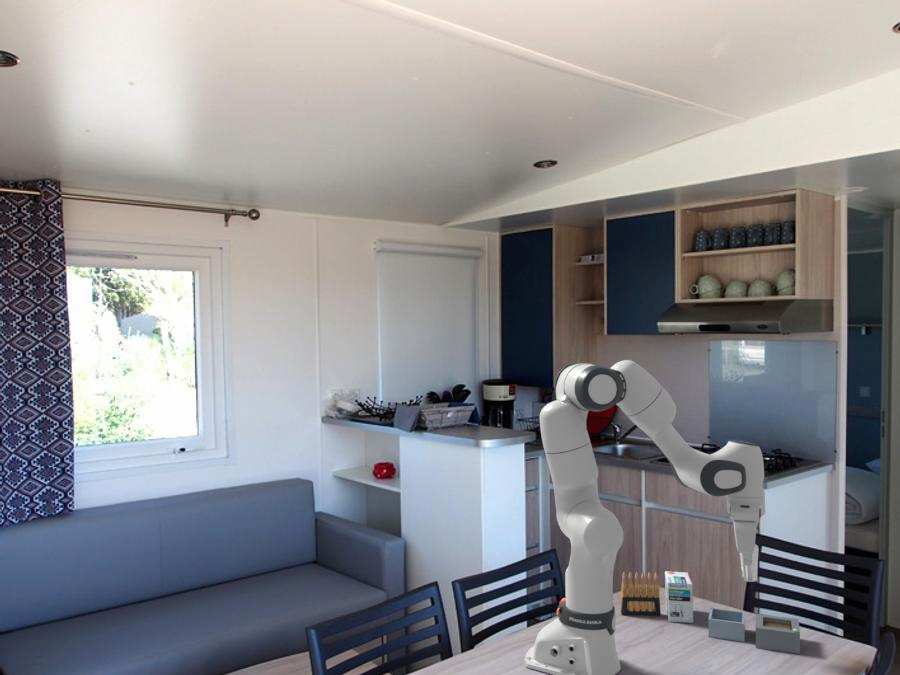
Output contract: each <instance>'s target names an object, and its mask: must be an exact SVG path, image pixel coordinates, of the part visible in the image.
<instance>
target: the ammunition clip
mask: <svg viewBox="0 0 900 675" xmlns="http://www.w3.org/2000/svg"><path fill="white" fill-rule="evenodd" d="M644 572H645V571H642V573H641V575H640V576H639V573H638V571H636V572H635V575H634V580H633V574H632V572H631V571H629V573H628V578H627V575H626V571H623V573H622V576H621V579H622V580H621V590H620V591H621V598H620V600H621V601H620V605H621V606H620V613H621V615H622V616H634V617H635V616H637V617H638V616H641V617H642V616H643V617H644V616H645V617H646V616H647V617H661V615H662V614H661V601H660V599H661V598H660V585H659V575H658V572H656V571H655V573H654V575H653V576H654V577H652V573H651V572H650V571H649V572H648V574H647V583H646V574H645V573H644ZM627 579H628V581H627ZM627 583H628V584H627Z"/></svg>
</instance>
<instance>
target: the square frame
mask: <svg viewBox="0 0 900 675" xmlns="http://www.w3.org/2000/svg"><path fill="white" fill-rule="evenodd" d="M764 622H768V623H775V624H783V625H790V630H788V629H780V628H773V627H765V626H764ZM755 649H762V650H769V651H775V652H776V651H777V652H783V653H788V654H797V655H801V631H800V621H799V618H795V617H794V618H793V617H786V616H777V615H771V614H769V615H768V614H761V613H756V614H755Z"/></svg>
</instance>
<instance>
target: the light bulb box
mask: <svg viewBox="0 0 900 675" xmlns="http://www.w3.org/2000/svg"><path fill="white" fill-rule="evenodd" d="M664 583H665V584H664V585H665V587H664V588H665V591H664V592H665V594H664V596H665V610H666V615H667V620H668V622H672V623H687V624H689V623H690V624H694V593H693V586H694V585H693V582H692V580H691V577H690V575H689V572H685V571H684V572H683V571H682V572H681V571H668V570H667V571H666V570H665V571H664Z"/></svg>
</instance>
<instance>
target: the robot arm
mask: <svg viewBox="0 0 900 675" xmlns="http://www.w3.org/2000/svg"><path fill="white" fill-rule="evenodd" d="M553 387H554V389H553V391H552V396H551V399H552V401H551V402H548V403H547V404H546V405H545V406H543V407H542V408H541V411H540V413H539V425H540V426H539V427H540V428H539V429H540V434H541V435H540V436H541V441H542V446H543V447H542V448H543V449H544V450H543V451H544V453H545V454H544V455H545V458H546V461H547V465H548V469H549V474H550V477H551V481H552V488H553V493H554V494H553V495H554V503H555V510H556V512H555V514H556V521H557V524H558V525H559V526H558V527H559V529H560V530H561V531H562V533H563V535H565V537H567V538H568V539H569V540H570V544H571V545H570V546H571V547H570V557H569V563H568V565H567V566H568V567H567V568H566V570H565V573H564V577H565V580H564V581H565V597H563V598H562V599H561V600H560V601H559V605H558V606H557V608H556V609H557V610H556V616H557V618H555V619H554V620H553V621H551V622H549V623H548V624H546V625H545V626H543V627H542V628H541V630H540V631H539V632H538V633H537V636H536V638H535V642H534V645H533V646H531V647H530V648H529V649H528V651H527V652H526V654H525V657H524V665H525V667H526V668H529V669H530V670H531V669H532V670H535V671H538V672H543V673H545V674H549V675H616V674H618V673H619V672H620V671H621V669H622V665H621V662H620V659H619V655H618V651H617V650H618V649H617V645H616V638H615V632H616V625H617V624H616V610H615V609H616V608H615V605H614V604H613V603H614V600H613V598H614V595H613V594H614V592H613V586H614V584H613V582H614V580H613V578H614V577H613V576H614V568H615V564H616V558H617V554H618V551H619V550H620V548H621V547H622V544H623V542H624V531H623V530H624V529H623V526H622V525H621V523H620V521H619V520H618V518H617V516H616V515H615V514H614V513H613V512H612V511H611V510H609V509H608V508H606V507H604V505H603V504H602V502H601V500H600V498H599V497H600V496H599V487H598V477H599V470H598V465H597V461H596V458H595V453H594V450H593V445H592V443H591V439H590V435H589V432H588V429H587V427H588V426H587V419H588V413H589V411H590V412H595V413H596V412H597V413H598V412H603V411H606V410H608V409H610V408H612V407H614V405H616V406H618V407H619V408H620V410H621V411H622V412H623V413H624V415H626V416H627V418H628V419H629V420H630V421H631V422H632V423H633V424H634V425H635V426H637V428H639V429H640V430H641V431H642V432H644V433H645V434H646V436H648V437H649V438H650V440H651V441H652V442H653V444H654V445H655V446H656V447H657V448H658V450H659V451H660V452H661V453H662V454H663V456H664V457H665V458H666V459H667V461H668V463H669V465H670V467H671V470H672V474H673V476H674V478H675V480H676V481H677V482H678V484H679V485H681V486H682V487H684V488H687V489H691V490H694V491H698V492H700V493H702V494H704V495H708V496H711V497H724V496H725V497H726V512H727V513H728V514H729V516H730V520H732V523H733V531H734V539H735V540H734V541H735V546H736V550H737V552H738V554H740V553H742V557H743V565H745V566H750V565H751V554H753V553H754V548H755V544H756V535H757V527H758V523H759V522H760V520H761V518H762V517H763V516H764V515H765V514H766V497H765V496H766V494H765V490H764V485H763V484H764V480H765V467H764V464H765V463H764V458H763V452H762V450H761V447H760V446H759V444H758V445H757V444H756V443H753V442H750V441H745V440H740V439H739V440H738V439H731V440H728V441H727V443H726V445H724V446H723V447H722V448H721V449H719V450H717V451H715V452H714V453H711V454H710V453H709V454H708V453H705V452H703V451H701V450H698V449H695V448H693V447H691V446H690V445H689V444H688V443H687V442H686V441H685V440H684V438H683V436H681V435H680V434H679V432H678V431H677V430H676V428H675V427H674V426H673V424H672V423H673V422H674V420H675V417H676V414H677V405H676V403H675V402H674V399H673V398H672V396H671V395H670V394H669V392H668V391H667V390H666V389H665V387H663V386H662V385H661V384H660V382H659V381H658V379H656V378H655V377H654V376H653V375H652V374H651V373H649V372H648V371H647V370H646V369H645V368H644V367H642V366H641V365H640V364H638V363H637V362H635V361H633V360H631V359H623V360H621V361H618V362H616V363H614V364H613V365H612V366H611V367H607V366H604V365H596V364H594V363H590V362H586V363H585V362H581V363H575V362H574V363H570V364H567V365H565V366H564V367H563V368H561V369H560V370H559V372H558V373H557V375H556V377H555V380H554V386H553Z"/></svg>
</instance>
